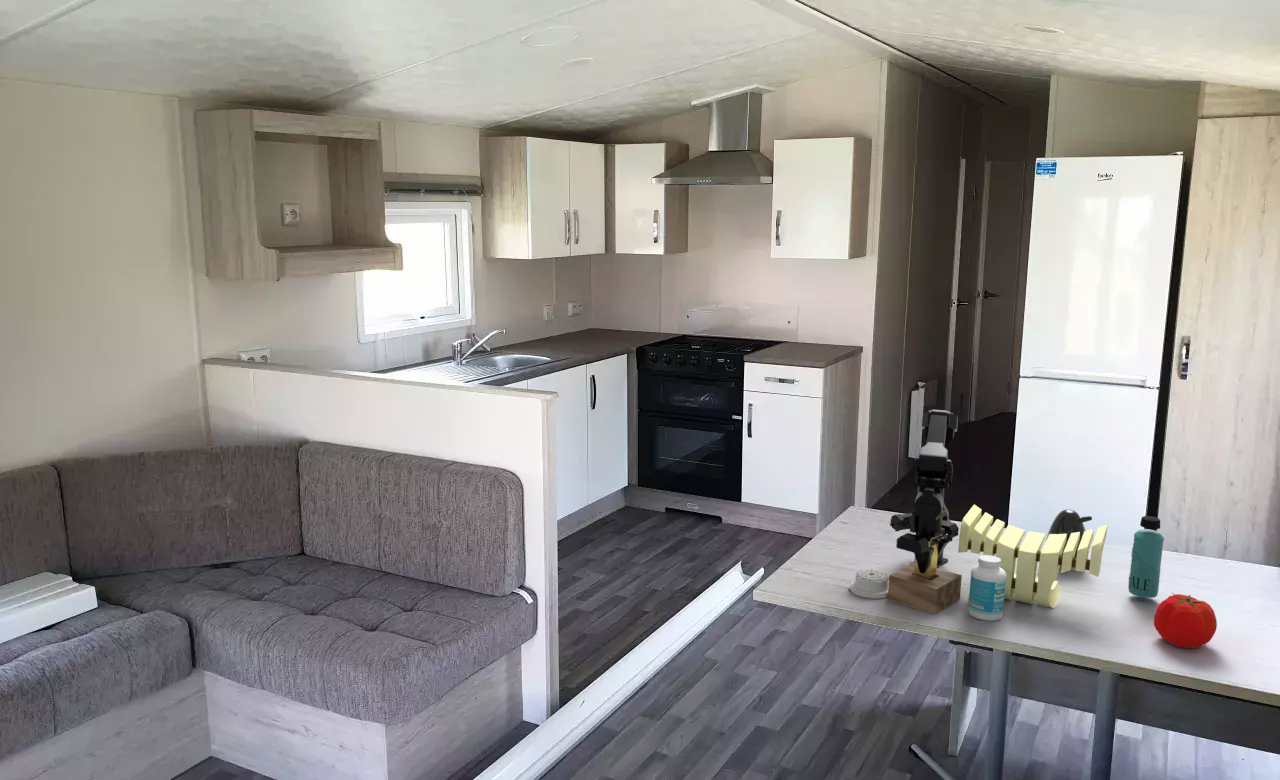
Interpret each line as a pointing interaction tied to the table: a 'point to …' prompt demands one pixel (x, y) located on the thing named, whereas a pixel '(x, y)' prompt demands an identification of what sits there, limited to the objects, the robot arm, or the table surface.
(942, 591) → the slotted wooden block
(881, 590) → the mechanical component
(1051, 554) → the slatted curved stool
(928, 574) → the brushed gold block
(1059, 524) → the pump dispenser
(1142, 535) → the beverage bottle
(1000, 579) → the pill bottle
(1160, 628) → the tomato
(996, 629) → the table surface
